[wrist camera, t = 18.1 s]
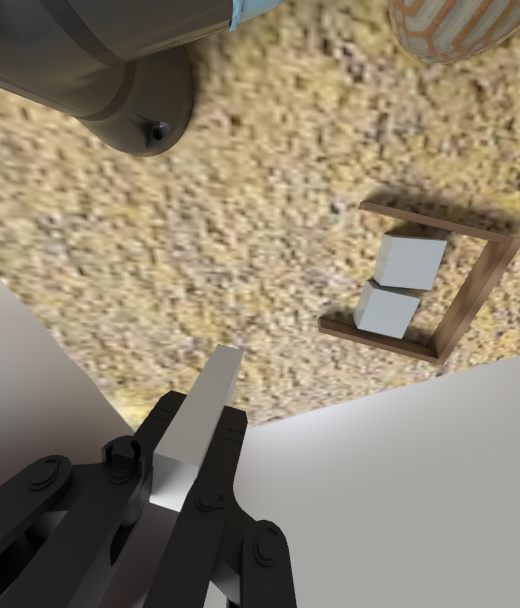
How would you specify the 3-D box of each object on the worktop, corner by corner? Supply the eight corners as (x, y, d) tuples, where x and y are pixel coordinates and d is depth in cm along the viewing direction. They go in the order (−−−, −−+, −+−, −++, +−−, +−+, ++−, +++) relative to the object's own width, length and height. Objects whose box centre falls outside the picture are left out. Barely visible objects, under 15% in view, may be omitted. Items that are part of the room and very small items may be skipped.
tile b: (366, 280, 35) (373, 288, 31) (408, 289, 35) (420, 299, 31) (352, 316, 37) (357, 328, 34) (391, 325, 37) (401, 338, 33)
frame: (360, 202, 31) (367, 201, 28) (500, 236, 30) (524, 239, 27) (317, 321, 38) (319, 332, 35) (430, 352, 37) (442, 365, 34)
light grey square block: (382, 233, 33) (393, 237, 29) (430, 237, 32) (447, 241, 28) (372, 277, 35) (380, 285, 31) (416, 281, 34) (430, 290, 30)
